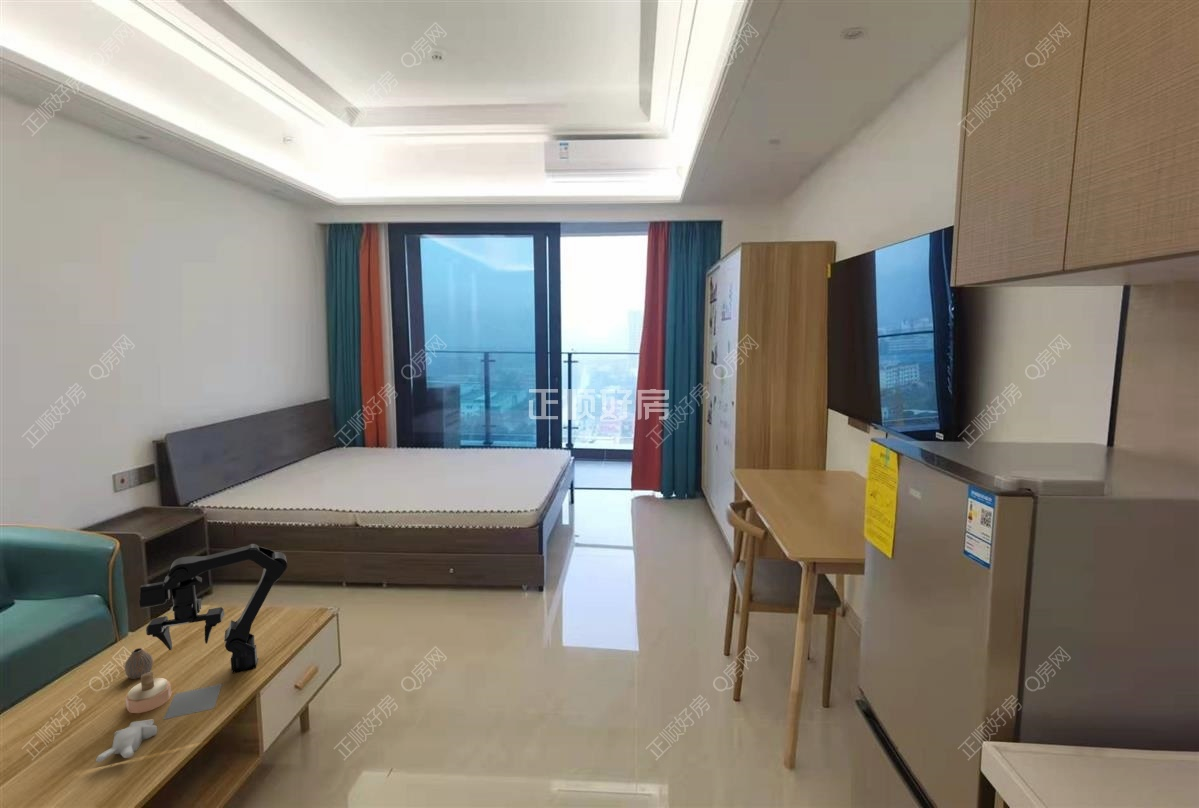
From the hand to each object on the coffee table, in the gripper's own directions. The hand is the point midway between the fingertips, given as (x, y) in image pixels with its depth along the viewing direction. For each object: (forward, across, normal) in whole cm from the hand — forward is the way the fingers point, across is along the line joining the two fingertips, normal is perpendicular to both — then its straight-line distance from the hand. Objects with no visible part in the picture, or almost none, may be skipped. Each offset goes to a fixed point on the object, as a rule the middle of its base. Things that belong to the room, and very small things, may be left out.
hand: (189, 646), depth 171 cm
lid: (+8, +9, +7) cm, 14 cm away
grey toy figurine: (+12, +8, +26) cm, 30 cm away
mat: (+12, -3, +12) cm, 17 cm away
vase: (+12, +16, -10) cm, 23 cm away
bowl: (+12, +9, +7) cm, 17 cm away
